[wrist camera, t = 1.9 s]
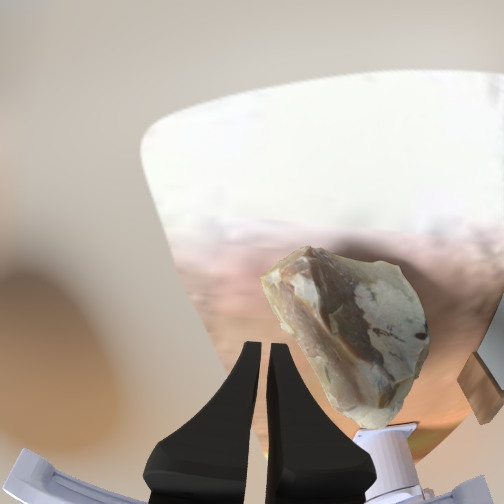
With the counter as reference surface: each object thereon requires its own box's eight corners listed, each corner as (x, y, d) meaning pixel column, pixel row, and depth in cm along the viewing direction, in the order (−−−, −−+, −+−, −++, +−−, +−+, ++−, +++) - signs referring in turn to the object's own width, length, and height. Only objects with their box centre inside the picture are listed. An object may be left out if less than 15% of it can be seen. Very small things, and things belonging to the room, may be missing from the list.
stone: (488, 367, 8) (231, 418, 10) (421, 430, 18) (297, 453, 20) (408, 191, 15) (241, 228, 18) (397, 319, 25) (292, 340, 27)
